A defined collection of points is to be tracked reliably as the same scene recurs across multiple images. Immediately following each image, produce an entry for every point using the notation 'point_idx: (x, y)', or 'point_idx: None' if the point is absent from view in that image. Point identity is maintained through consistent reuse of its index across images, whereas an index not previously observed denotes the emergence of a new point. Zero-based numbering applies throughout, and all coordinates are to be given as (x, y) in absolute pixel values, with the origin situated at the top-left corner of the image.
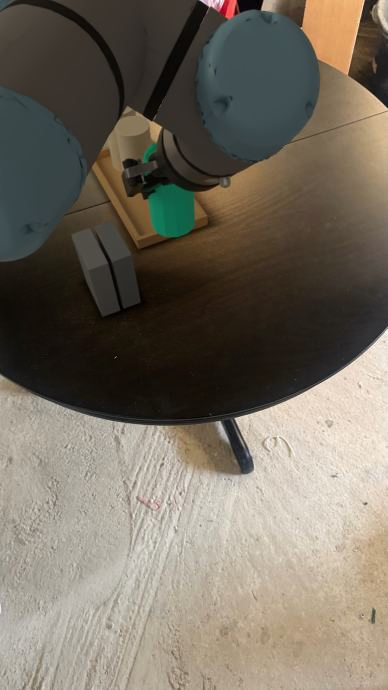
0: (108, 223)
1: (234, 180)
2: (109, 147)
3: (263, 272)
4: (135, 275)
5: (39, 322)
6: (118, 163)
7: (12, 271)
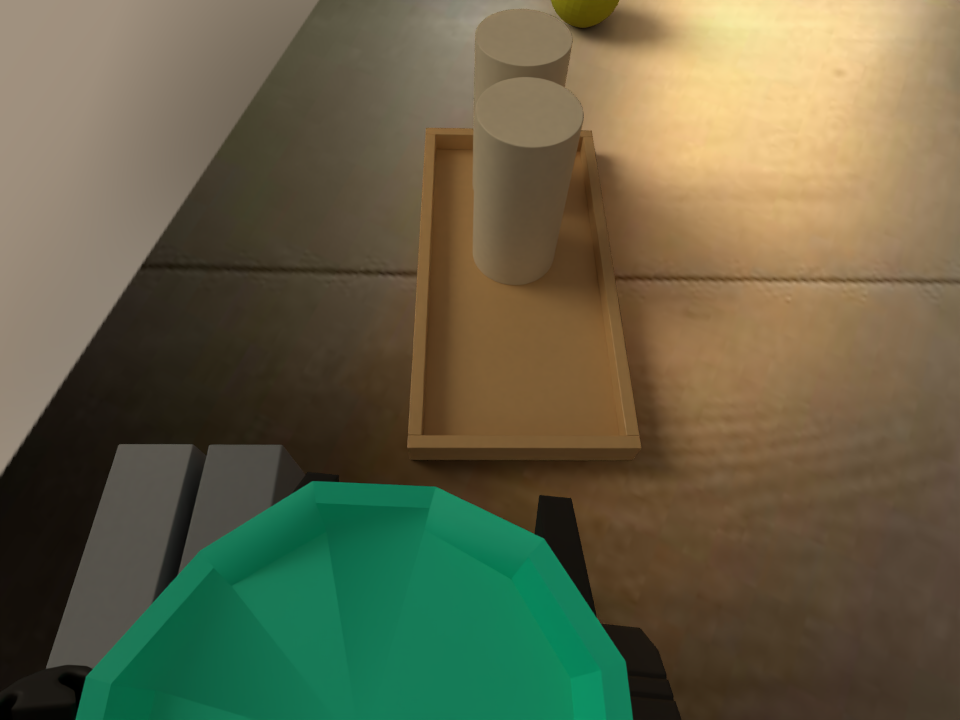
0: (260, 453)
1: (760, 340)
2: (473, 137)
3: None
4: None
5: (23, 597)
6: None
7: (80, 384)
